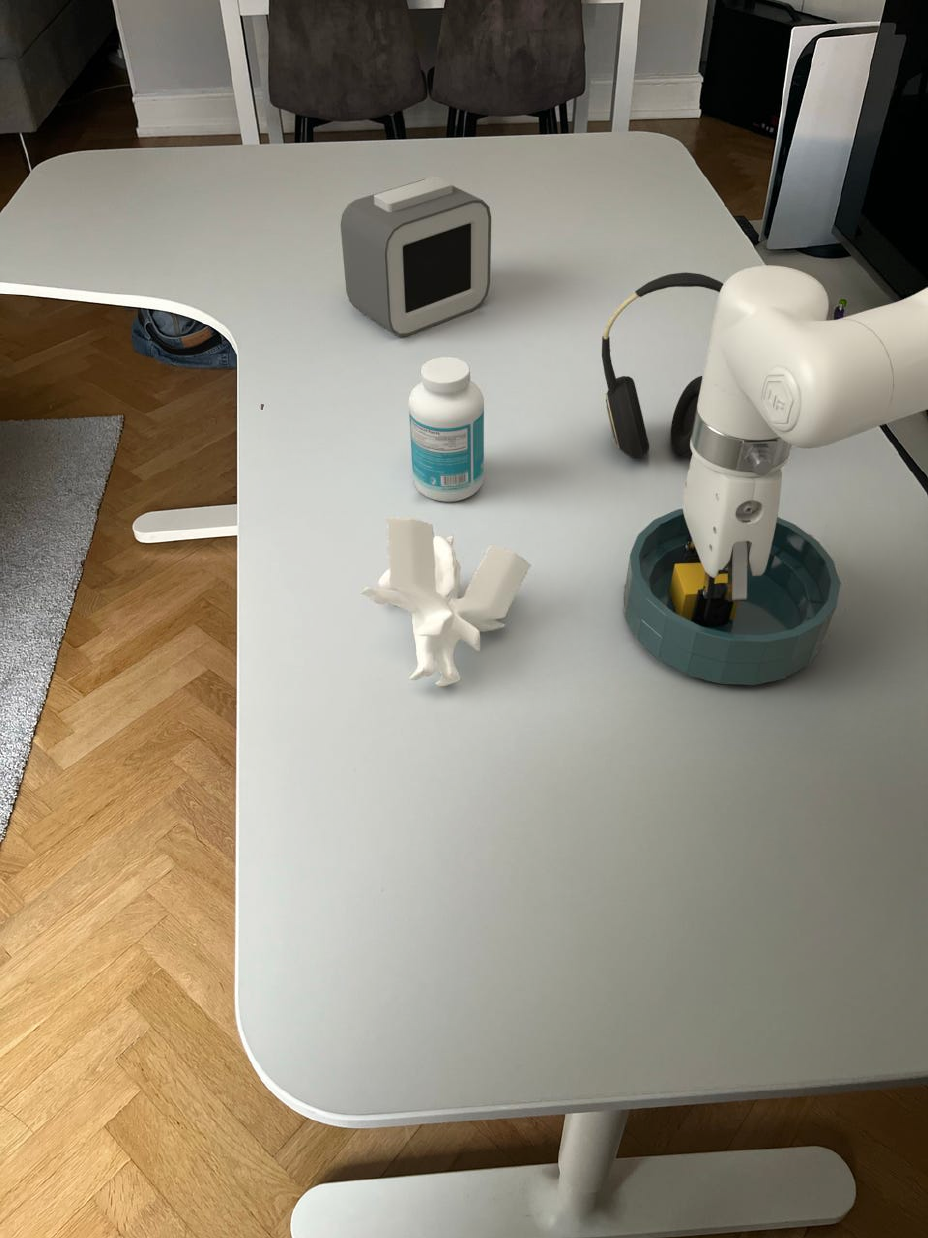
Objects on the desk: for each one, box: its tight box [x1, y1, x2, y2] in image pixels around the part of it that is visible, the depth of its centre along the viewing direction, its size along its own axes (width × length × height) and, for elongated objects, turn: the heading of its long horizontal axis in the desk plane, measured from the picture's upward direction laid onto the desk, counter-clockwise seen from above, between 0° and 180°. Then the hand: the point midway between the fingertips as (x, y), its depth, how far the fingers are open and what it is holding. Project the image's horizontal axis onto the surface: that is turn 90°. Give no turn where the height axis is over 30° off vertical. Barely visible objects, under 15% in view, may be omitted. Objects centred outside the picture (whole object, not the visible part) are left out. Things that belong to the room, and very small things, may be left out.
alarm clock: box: [340, 175, 492, 338], centre depth 126 cm, size 16×11×16 cm
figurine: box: [361, 516, 532, 687], centre depth 85 cm, size 15×12×14 cm
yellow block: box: [669, 563, 739, 621], centre depth 88 cm, size 4×5×4 cm
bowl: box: [623, 508, 842, 686], centre depth 87 cm, size 18×18×6 cm
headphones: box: [601, 271, 724, 458], centre depth 101 cm, size 9×15×20 cm, turn 90°
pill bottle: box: [408, 356, 485, 502], centre depth 99 cm, size 8×7×14 cm
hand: (702, 603), depth 89 cm, fingers closed on yellow block, 4 cm apart
